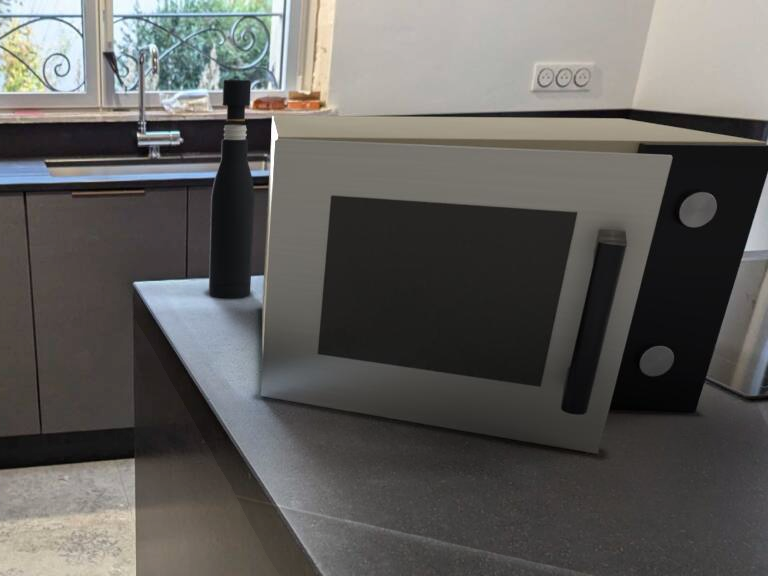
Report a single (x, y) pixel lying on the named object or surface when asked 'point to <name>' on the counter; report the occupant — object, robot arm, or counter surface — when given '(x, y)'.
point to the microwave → (670, 239)
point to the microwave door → (457, 283)
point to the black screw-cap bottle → (232, 202)
